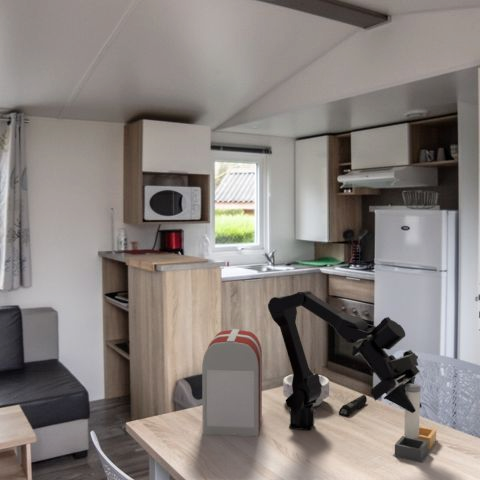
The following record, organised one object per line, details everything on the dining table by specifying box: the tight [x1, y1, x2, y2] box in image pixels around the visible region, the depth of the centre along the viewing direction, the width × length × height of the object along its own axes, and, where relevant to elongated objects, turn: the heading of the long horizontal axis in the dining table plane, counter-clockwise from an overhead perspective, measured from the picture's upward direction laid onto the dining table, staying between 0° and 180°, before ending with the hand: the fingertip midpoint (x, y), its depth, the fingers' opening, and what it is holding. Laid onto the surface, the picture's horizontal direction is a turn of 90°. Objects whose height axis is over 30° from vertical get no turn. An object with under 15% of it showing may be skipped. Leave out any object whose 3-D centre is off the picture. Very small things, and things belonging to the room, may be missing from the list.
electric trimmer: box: [338, 394, 368, 417], centre depth 180 cm, size 4×16×3 cm, turn 142°
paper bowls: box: [282, 373, 330, 407], centre depth 186 cm, size 15×15×8 cm
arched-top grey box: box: [201, 328, 263, 437], centre depth 167 cm, size 16×18×27 cm
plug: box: [403, 383, 421, 438], centre depth 144 cm, size 4×4×13 cm
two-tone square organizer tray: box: [392, 425, 439, 464], centre depth 148 cm, size 16×8×4 cm, turn 147°
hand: (417, 409), depth 143 cm, fingers closed on plug, 4 cm apart
